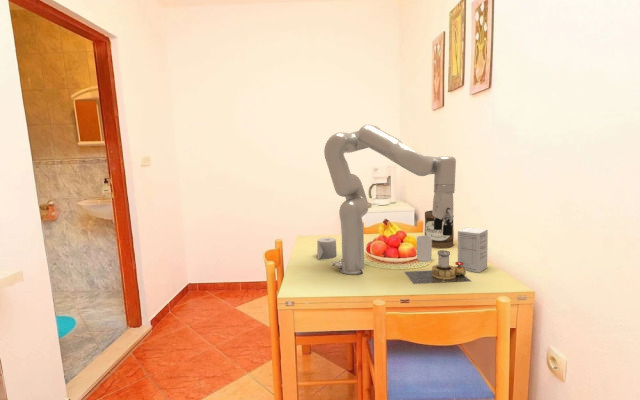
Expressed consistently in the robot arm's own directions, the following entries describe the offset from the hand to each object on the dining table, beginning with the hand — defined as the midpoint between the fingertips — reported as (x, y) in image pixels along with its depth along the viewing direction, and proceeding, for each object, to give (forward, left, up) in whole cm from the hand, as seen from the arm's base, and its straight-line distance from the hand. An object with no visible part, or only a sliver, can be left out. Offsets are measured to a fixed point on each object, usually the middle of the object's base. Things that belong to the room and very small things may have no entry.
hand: (442, 232), depth 137 cm
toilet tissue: (-45, +38, -19) cm, 62 cm away
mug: (+1, +24, -19) cm, 31 cm away
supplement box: (+18, +12, -19) cm, 29 cm away
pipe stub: (+1, 0, -17) cm, 17 cm away
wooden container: (+18, +52, -19) cm, 58 cm away
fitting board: (-2, 0, -19) cm, 19 cm away
